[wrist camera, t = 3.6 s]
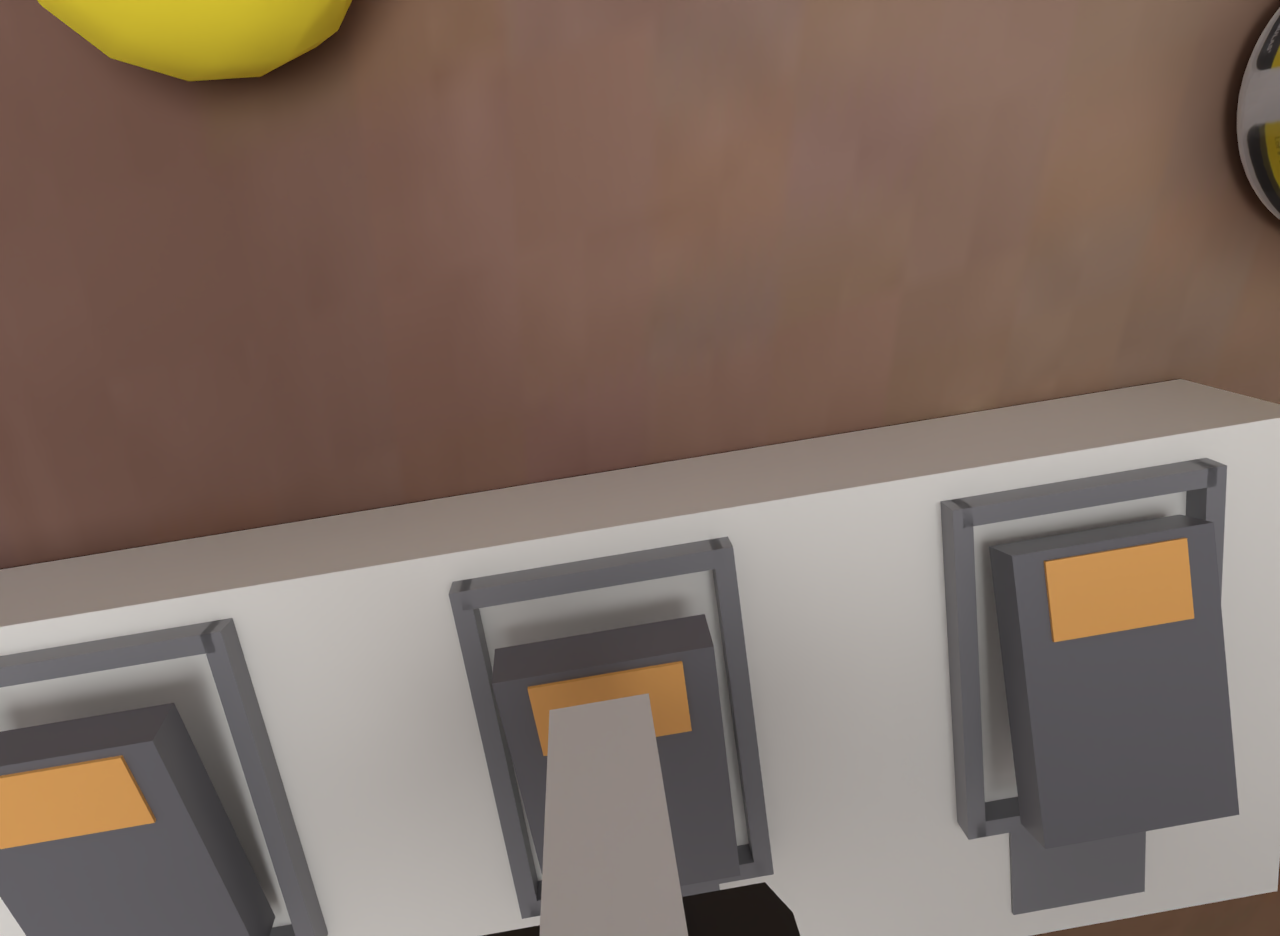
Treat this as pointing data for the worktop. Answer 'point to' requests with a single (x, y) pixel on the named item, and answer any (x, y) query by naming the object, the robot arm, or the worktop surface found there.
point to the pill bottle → (1262, 117)
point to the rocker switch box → (745, 661)
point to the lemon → (203, 32)
